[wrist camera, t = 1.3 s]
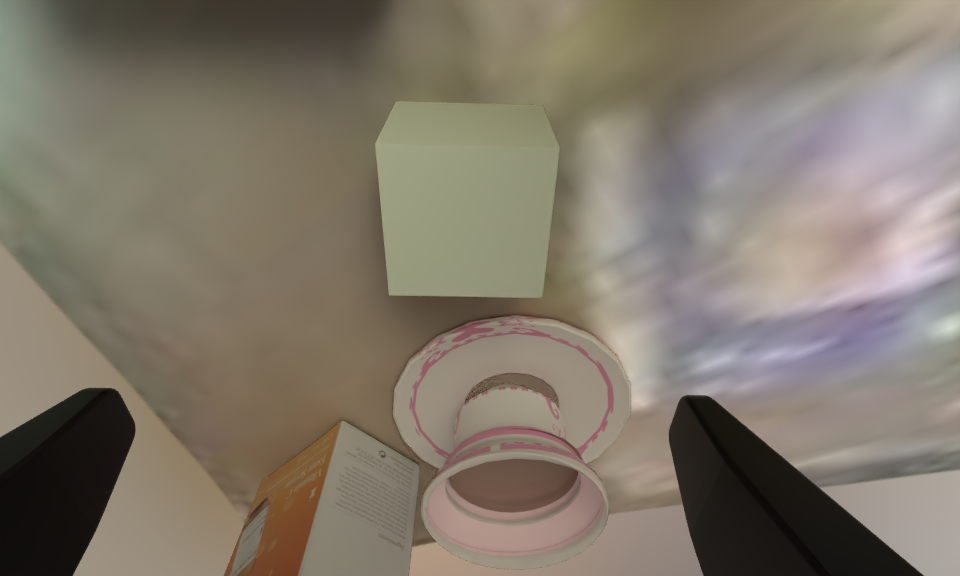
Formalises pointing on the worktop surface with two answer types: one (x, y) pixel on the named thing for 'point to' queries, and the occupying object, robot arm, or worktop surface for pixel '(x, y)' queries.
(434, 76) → the worktop surface
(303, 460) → the small box
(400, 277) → the sage block
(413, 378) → the teacup
